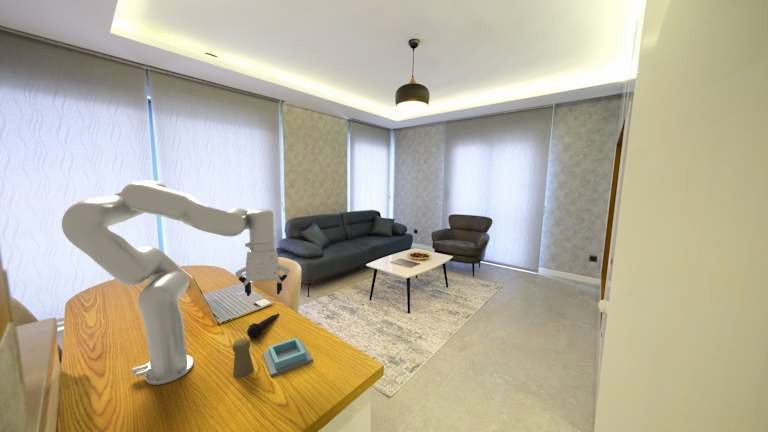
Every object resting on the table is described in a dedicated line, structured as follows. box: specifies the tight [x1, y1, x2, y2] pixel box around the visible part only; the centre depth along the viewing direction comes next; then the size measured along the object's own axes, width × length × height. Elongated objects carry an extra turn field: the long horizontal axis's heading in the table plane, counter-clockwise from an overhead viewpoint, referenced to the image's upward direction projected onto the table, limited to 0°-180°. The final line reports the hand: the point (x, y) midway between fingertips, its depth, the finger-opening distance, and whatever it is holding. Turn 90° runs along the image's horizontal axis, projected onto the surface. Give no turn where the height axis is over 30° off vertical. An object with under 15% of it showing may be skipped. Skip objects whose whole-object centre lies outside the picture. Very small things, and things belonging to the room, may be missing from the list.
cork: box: [231, 337, 254, 379], centre depth 91 cm, size 6×6×11 cm
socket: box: [262, 337, 314, 378], centre depth 99 cm, size 14×13×3 cm
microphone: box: [246, 313, 280, 339], centre depth 118 cm, size 6×6×20 cm
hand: (264, 293), depth 97 cm, fingers open, 9 cm apart
